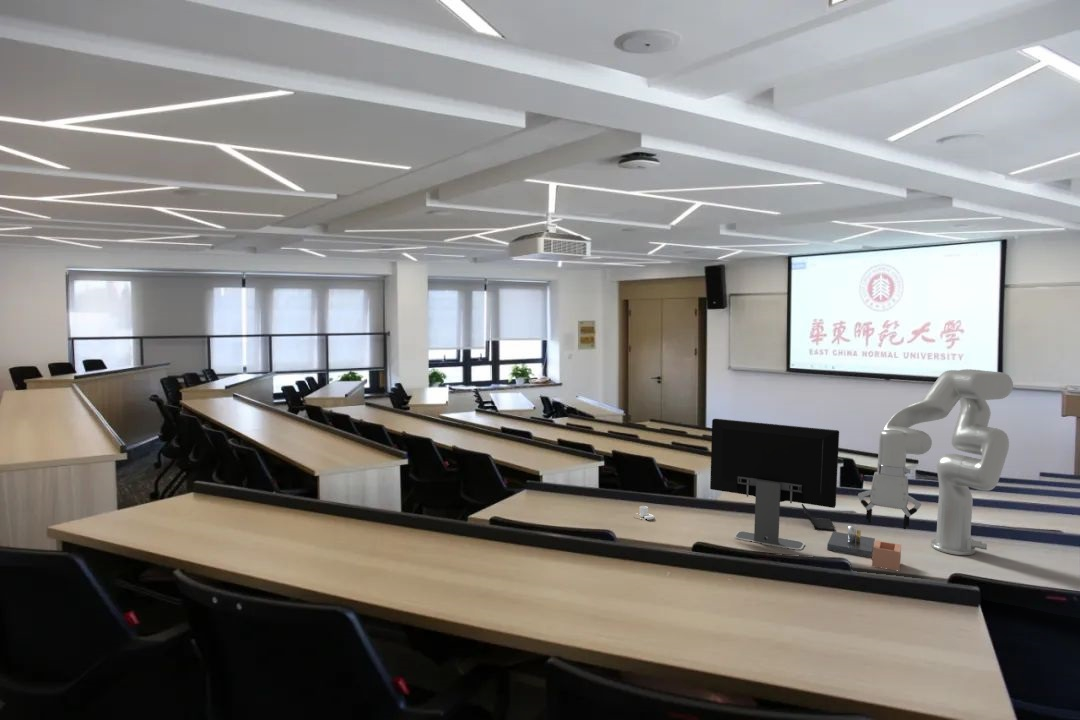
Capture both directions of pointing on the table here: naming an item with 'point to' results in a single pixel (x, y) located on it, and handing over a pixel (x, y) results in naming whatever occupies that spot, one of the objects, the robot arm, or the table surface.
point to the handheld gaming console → (819, 522)
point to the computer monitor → (774, 470)
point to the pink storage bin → (886, 555)
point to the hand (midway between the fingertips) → (887, 524)
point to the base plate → (851, 543)
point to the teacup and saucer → (645, 513)
